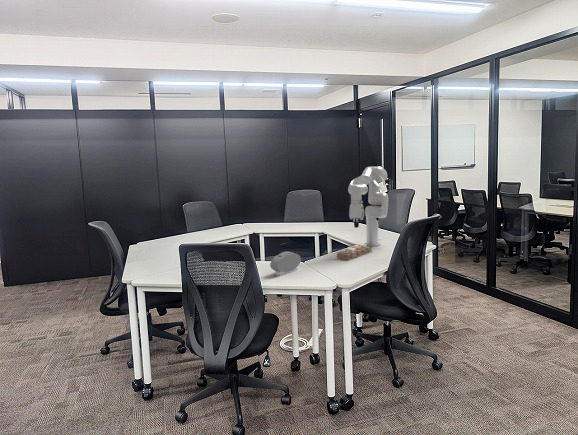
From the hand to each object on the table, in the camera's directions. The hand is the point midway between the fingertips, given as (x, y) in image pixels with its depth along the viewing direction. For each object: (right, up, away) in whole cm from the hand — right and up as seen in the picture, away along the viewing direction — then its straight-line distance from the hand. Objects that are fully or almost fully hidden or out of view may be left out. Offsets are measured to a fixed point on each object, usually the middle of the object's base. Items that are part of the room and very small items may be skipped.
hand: (356, 227), depth 310 cm
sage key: (+6, -16, +9) cm, 19 cm away
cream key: (-4, -18, -4) cm, 19 cm away
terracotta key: (+1, -17, +3) cm, 18 cm away
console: (-1, -20, +1) cm, 20 cm away
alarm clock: (-51, -28, -39) cm, 70 cm away
